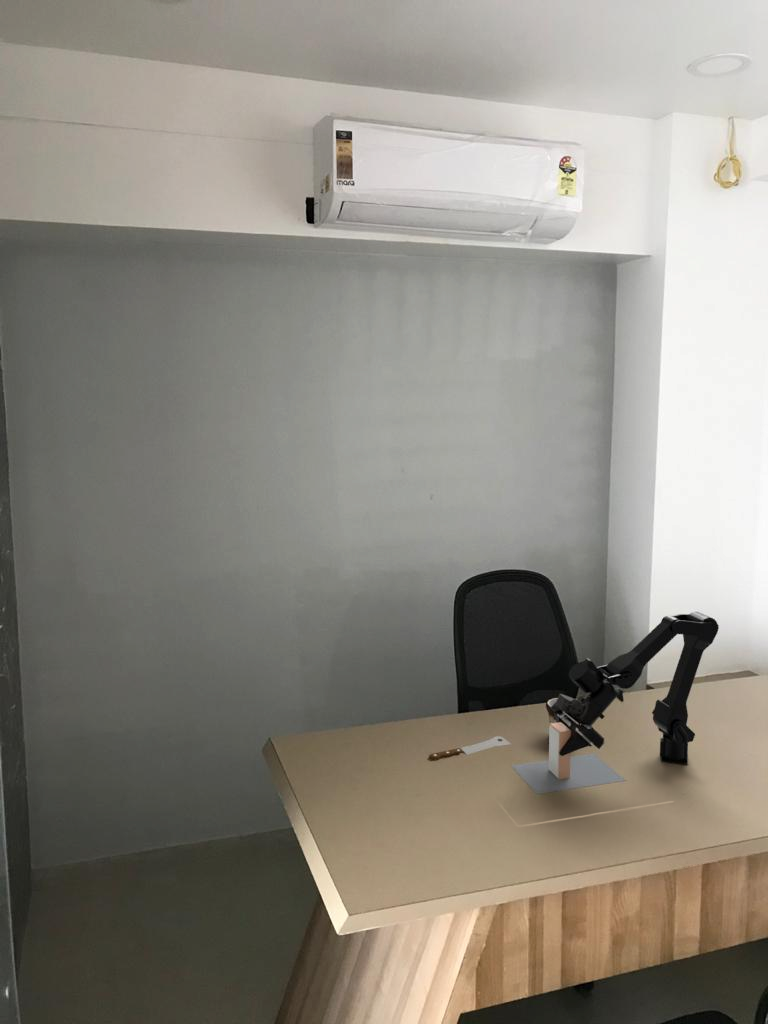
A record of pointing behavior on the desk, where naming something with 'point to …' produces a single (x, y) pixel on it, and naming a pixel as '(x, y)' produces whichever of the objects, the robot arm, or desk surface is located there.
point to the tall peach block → (556, 742)
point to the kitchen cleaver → (470, 748)
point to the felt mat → (582, 774)
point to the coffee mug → (551, 713)
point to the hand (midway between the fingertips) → (554, 749)
